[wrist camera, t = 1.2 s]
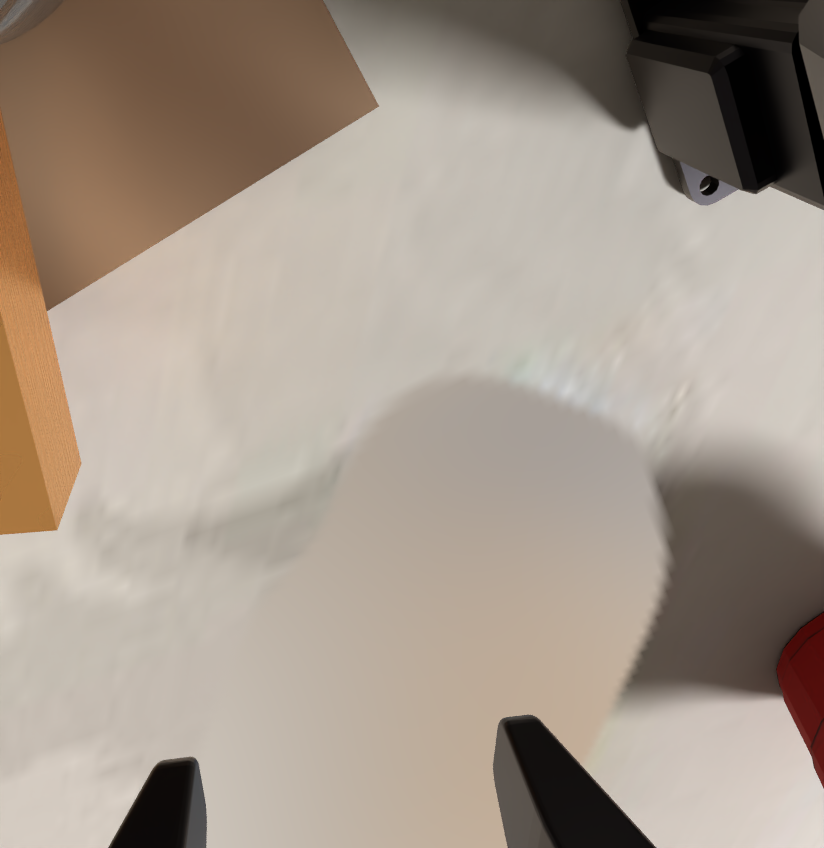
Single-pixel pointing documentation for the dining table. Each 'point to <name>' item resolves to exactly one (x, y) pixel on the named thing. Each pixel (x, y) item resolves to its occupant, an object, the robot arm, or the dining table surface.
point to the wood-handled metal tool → (28, 351)
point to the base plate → (161, 118)
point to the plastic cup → (806, 687)
